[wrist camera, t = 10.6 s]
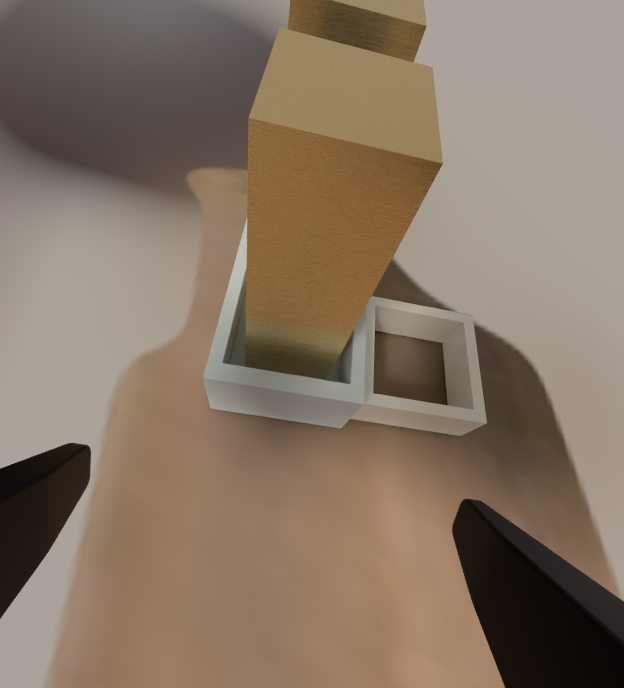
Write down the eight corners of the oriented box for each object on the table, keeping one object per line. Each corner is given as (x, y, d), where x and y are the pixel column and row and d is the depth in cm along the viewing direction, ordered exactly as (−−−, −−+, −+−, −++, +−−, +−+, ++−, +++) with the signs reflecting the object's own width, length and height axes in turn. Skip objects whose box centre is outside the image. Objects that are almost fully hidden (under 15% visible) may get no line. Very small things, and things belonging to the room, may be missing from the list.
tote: (460, 436, 20) (487, 423, 18) (347, 418, 19) (360, 403, 17) (450, 336, 23) (472, 315, 21) (353, 318, 22) (365, 294, 20)
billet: (323, 385, 18) (443, 163, 7) (244, 372, 18) (248, 117, 7) (330, 317, 20) (432, 64, 9) (259, 304, 20) (280, 24, 9)
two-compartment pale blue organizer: (341, 428, 19) (363, 404, 15) (210, 408, 18) (202, 378, 15) (353, 239, 26) (371, 192, 22) (258, 220, 25) (260, 168, 21)
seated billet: (333, 285, 21) (426, 26, 11) (266, 272, 21) (291, -11, 10) (337, 235, 23) (420, -27, 13) (276, 222, 23) (307, -59, 12)
